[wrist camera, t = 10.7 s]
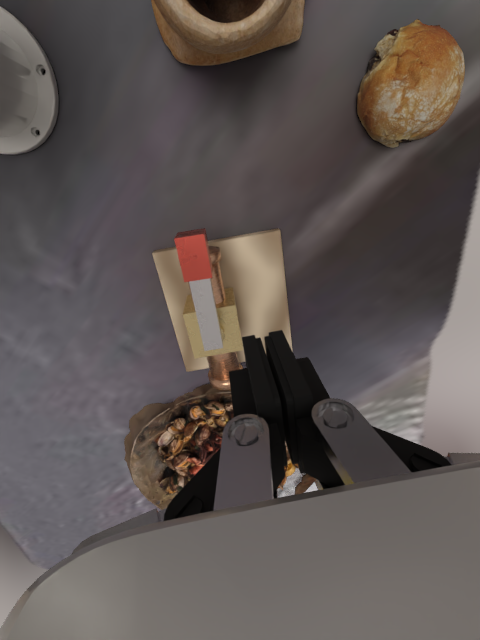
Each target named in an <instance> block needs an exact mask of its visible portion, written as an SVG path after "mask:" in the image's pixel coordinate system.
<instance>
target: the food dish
mask: <svg viewBox="0 0 480 640" xmlns="http://www.w3.org/2000/svg"><path fill="white" fill-rule="evenodd" d="M233 418H234V414H233V405H232V396H231V389H228V390H218V389H215V388H213V387H212V386H211V384H205V385H202V386H200V387H197V388H196V389H194V390H193V392H188V393H186V394H184V395H183V396H180V397H178V398H177V399H176V400H175V401H174V402H172V403H167V404H161V403H155V404H149V405H147V406H145V407H143V409H142V410H141V411H139V412H138V413H137V414H135V415H134V416H132V418H131V419H130V422H129V428H130V433H129V434H128V435H127V436H126V437H125V441H124V444H125V451H126V455H125V461H126V462H127V465H128V468H129V470H130V473H131V476H132V479H133V481H134V483H135V485H136V486H137V487H138V488H139V490H140V491H141V493H142V494H143V495H144V496H145V497H146V498H147V499H148V501H150V502H152V503H153V504H154V505H156V506H157V507H158V508H160V509H161V510H163V509H166V508H167V506H168V505H169V503H170V502H171V501H172V499H173V498H174V497H175V496H176V495H177V494H178V493H179V492H180V491H181V489H182V488H183V487H184V486H185V485H186V484H187V483H188V482H189V481H190V480H191V479H192V478H193V477H194V476H195V475H196V473H197V472H198V471H199V470H200V469H201V468H202V467H203V466H204V465H205V464H206V463H207V462H208V461H209V460H210V458H211V457H212V456H213V455H214V454H215V453H216V452H217V451H218V450H219V449H220V448H221V443H222V435H223V430H224V427H225V426H226V424H227V423H228V422H229V421H230V420H231V419H233ZM285 443H286V442H285ZM286 453H287V462H288V466H284V467H285V478H284V479H283V481H282V482H281V484H280V485H279V486H278V488H281V489H282V490H283V485H284V484H285V482H286V479H287V478H286V477H288V476H290V475H292V474H293V473H294V472H295V468H299V467H298V464H292V462H291V459H290V456H289V452H288V449H287V445H286ZM313 482H315V478H313V477H311V476H310V475H308V474H306V475H303V477H302V482H300V483H299V484H298V485H297V486H296V488H295V495H296V494H302V493H304V492H305V491H306V490H307V489H308V488H309V487H310V486H311V485H312V484H313Z"/></svg>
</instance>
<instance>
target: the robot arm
mask: <svg viewBox="0 0 480 640" xmlns="http://www.w3.org/2000/svg"><path fill="white" fill-rule="evenodd" d="M44 70H46V73H45V75H44V74H43V71H44ZM58 106H59V96H58V89H57V82H56V79H55V76H54V73H53V69H52V67H51V64H50V62H49V60H48V58H47V56H46V54H45V52H44V50H43V49H42V47H41V46H40V44H39V43H38V41H37V40H36V38H35V37H34V36H33V35H32V34H31V32H30V31H29V30H28V29H27V28H26V27H25V25H23V24H22V23H21V22H20V21H19V20H18V19H17V18H15V17H14V16H13V15H12V14H11V13H9V12H8V11H6V10H5V9H4V8H2V7H1V6H0V154H12V155H17V154H22V153H27V152H29V151H32V150H34V149H36V148H37V147H39V146H40V145H41V144H42V143H44V142H45V141H46V139H47V138H48V137H49V135H50V134H51V132H52V130H53V128H54V126H55V123H56V120H57V115H58ZM38 131H40V135H38ZM264 340H265V348H266V353H265V350H264V347H263V344H262V341H261V338H260V337H259V338H256V337H255V335H251V336H245V337H242V342H243V348H244V355H245V361H246V367H247V368H245V369H239V370H234V371H229V379H230V388H231V396H232V405H233V414H234V418H233V419H231V420H230V421H229V422H228V423H227V424H226V426H225V427H224V430H223V435H222V443H221V448H220V449H219V450H218V451H217V452H216V453H215V454H214V455H213V456H212V457H211V458H210V460H209V461H208V462H207V463H206V464H205V465H204V466H203V467H202V468H201V469H200V470H199V471H198V472H197V473H196V475H195V476H194V477H193V478H192V479H191V480H190V481H189V482H188V483H187V484H186V485H185V486H184V487H183V488H182V489H181V491H180V492H179V493H178V494H177V495H176V496H175V497H174V498H173V499H172V501H171V502H170V503H169V505H168V506H167V508H166V509H163V510H161V511H159V512H158V511H157V509H154V510H151V511H149V512H147V513H144V514H142V515H139V516H137V517H135V518H132V519H130V520H128V521H125V522H123V523H121V524H118V525H116V526H114V527H111V528H109V529H107V530H104V531H102V532H100V533H97V534H95V535H92V536H91V537H89V538H87V539H86V540H84V541H82V542H81V543H80V544H79V545H78V546H77V547H76V548H75V549H74V551H73V553H72V554H71V555H70V556H68V557H67V558H65V559H63V560H62V561H60V562H59V563H57V564H56V565H55V566H53V567H52V568H50V569H49V570H48V571H46V572H45V573H44V574H43V575H41V576H40V577H39V578H38V579H37V580H36V581H35V582H34V583H33V584H32V585H31V586H30V587H29V588H28V589H27V590H26V591H25V592H24V594H23V595H22V596H21V597H20V599H19V600H18V601H17V603H16V604H15V606H14V607H13V609H12V610H11V612H10V613H9V615H8V617H7V618H6V620H5V622H4V623H3V625H2V627H1V628H0V640H480V453H448V456H447V457H444V456H442V455H441V454H439V453H437V452H435V451H433V450H431V449H429V448H426V447H424V446H421V445H419V444H416V443H413V442H411V441H408V440H406V439H403V438H401V437H398V436H396V435H393V434H391V433H388V432H386V431H383V430H381V429H378V428H375V427H373V426H371V425H370V424H369V423H368V421H367V420H366V419H365V418H364V417H363V416H362V414H361V413H360V412H359V411H358V410H357V409H356V408H355V407H354V406H353V405H352V404H351V403H349V402H347V401H345V400H341V399H334V398H330V397H329V395H328V393H327V391H326V389H325V388H324V386H323V384H322V382H321V380H320V378H319V376H318V375H317V373H316V371H315V369H314V367H313V365H312V363H311V362H310V360H309V358H307V357H306V358H300V359H296V358H295V356H294V354H293V352H292V350H291V348H290V346H289V343H288V341H287V339H286V337H285V335H284V333H283V331H282V330H279V331H273V332H269V336H265V337H264ZM285 442H286V443H285ZM286 445H287V449H288V452H289V456H290V459H291V462H292V464H298V467H299V470H300V473H306V474H308V475H310V476H311V477H313V478H315V483H316V486H317V488H318V490H317V491H312V492H307V493H302V494H296V495H291V496H286V497H281V498H278V491H277V488H278V486H279V485H280V484H281V482H282V481H283V479H284V478H285V467H284V466H288V462H287V453H286Z"/></svg>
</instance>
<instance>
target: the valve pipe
mask: <svg viewBox="0 0 480 640" xmlns="http://www.w3.org/2000/svg"><path fill="white" fill-rule="evenodd" d="M209 252H210V257H211V262H212V268H213V274H212V278H211V281H212V286H213V292H214V297H215V302H216V307H217V312H218V318H219V323H220V328H221V333H222V339H223V348H221V349H215V350H208V351H204V346H203V342H202V338H201V333H200V329H199V324H198V320H197V316H196V311H195V307H194V302H193V298H192V293H191V289H190V285H189V282H188V285H189V289H190V293H191V295H187V298H186V303H185V307H184V311H183V318H184V321H185V325H186V329H187V332H188V336H189V340H190V343H191V347H192V351H193V354H194V358H195V359H196V358H202V357H207V361H208V365H209V369H210V371H209V373H208V377H209V381H210V384H211V386H212V387H213V388H215V389H218V390H228V389H231V388H230V379H229V371H234V370H239V369H243V367H242V366H241V364H239V362H238V357H237V352H236V351H241V350H243V344H242V337H241V331H240V325H239V319H238V314H237V308H236V303H235V297H234V292H233V287H231V288H226V289H224V286H223V281H222V276H221V271H220V266H219V261H221V259H222V258H221V252H220V248H219V247H217V246H209ZM178 260H179V257H178ZM179 263H180V261H179ZM180 267H181V266H180Z"/></svg>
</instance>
